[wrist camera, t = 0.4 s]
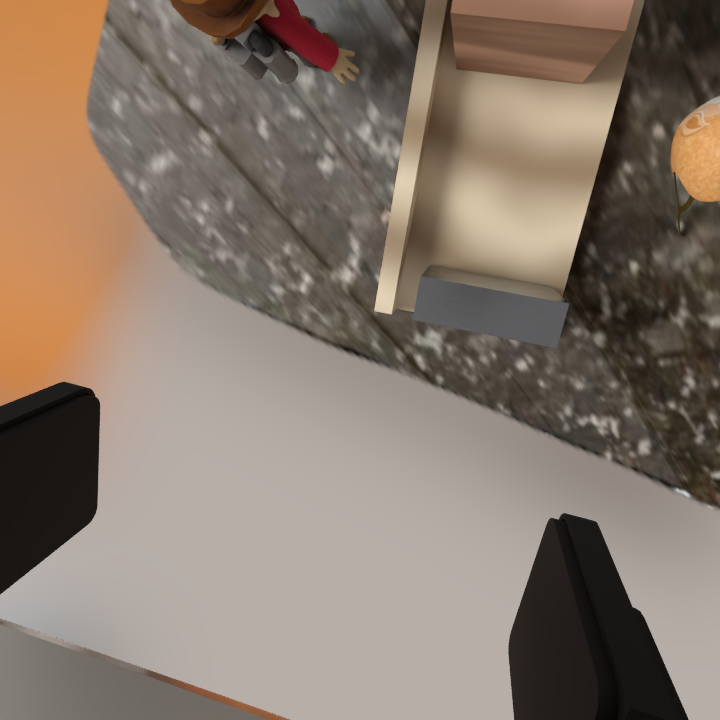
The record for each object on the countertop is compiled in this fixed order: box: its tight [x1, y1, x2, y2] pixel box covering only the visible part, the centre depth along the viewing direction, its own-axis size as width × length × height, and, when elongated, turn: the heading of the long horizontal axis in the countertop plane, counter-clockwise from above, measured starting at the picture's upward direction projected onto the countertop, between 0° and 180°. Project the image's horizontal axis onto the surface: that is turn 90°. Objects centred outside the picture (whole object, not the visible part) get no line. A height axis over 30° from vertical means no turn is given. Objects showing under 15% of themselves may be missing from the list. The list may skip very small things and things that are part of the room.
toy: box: [170, 0, 359, 84], centre depth 27 cm, size 11×7×15 cm, turn 53°
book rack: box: [374, 0, 645, 314], centre depth 28 cm, size 23×12×12 cm, turn 171°
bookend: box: [413, 265, 569, 348], centre depth 32 cm, size 2×8×7 cm, turn 81°
